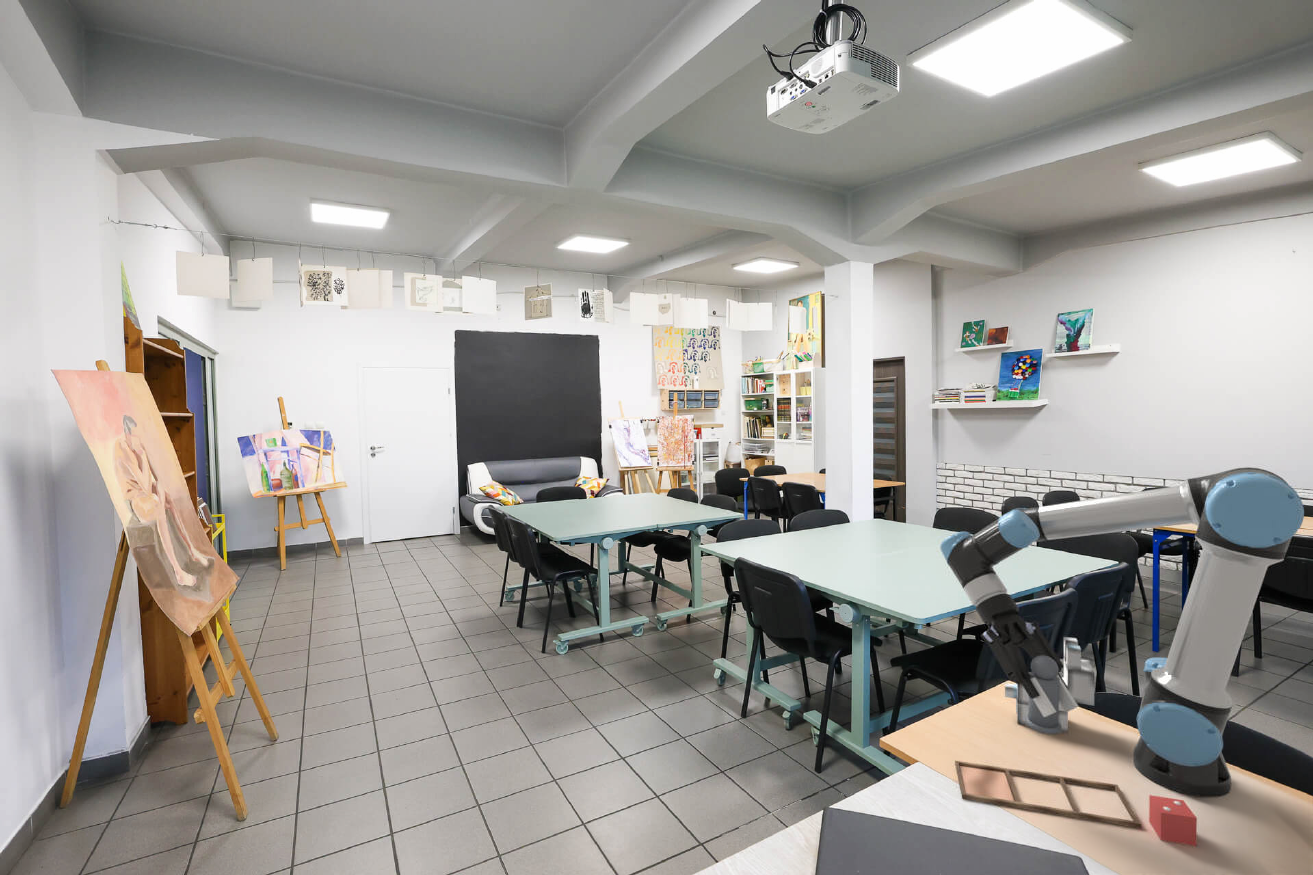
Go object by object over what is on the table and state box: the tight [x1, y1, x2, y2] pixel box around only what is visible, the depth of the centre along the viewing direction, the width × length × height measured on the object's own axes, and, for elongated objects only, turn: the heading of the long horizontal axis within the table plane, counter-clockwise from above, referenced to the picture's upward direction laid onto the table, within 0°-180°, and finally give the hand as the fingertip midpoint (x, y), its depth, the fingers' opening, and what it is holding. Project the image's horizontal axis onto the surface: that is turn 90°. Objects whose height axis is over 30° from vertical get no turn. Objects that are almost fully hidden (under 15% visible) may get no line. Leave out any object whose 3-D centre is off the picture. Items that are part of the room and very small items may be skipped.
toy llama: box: [1004, 636, 1095, 734], centre depth 147 cm, size 8×18×20 cm, turn 62°
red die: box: [1148, 794, 1198, 847], centre depth 109 cm, size 5×5×5 cm
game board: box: [954, 760, 1142, 829], centre depth 121 cm, size 29×12×1 cm, turn 70°
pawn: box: [1025, 655, 1062, 735], centre depth 121 cm, size 6×6×14 cm
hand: (1061, 711), depth 117 cm, fingers closed on pawn, 5 cm apart
